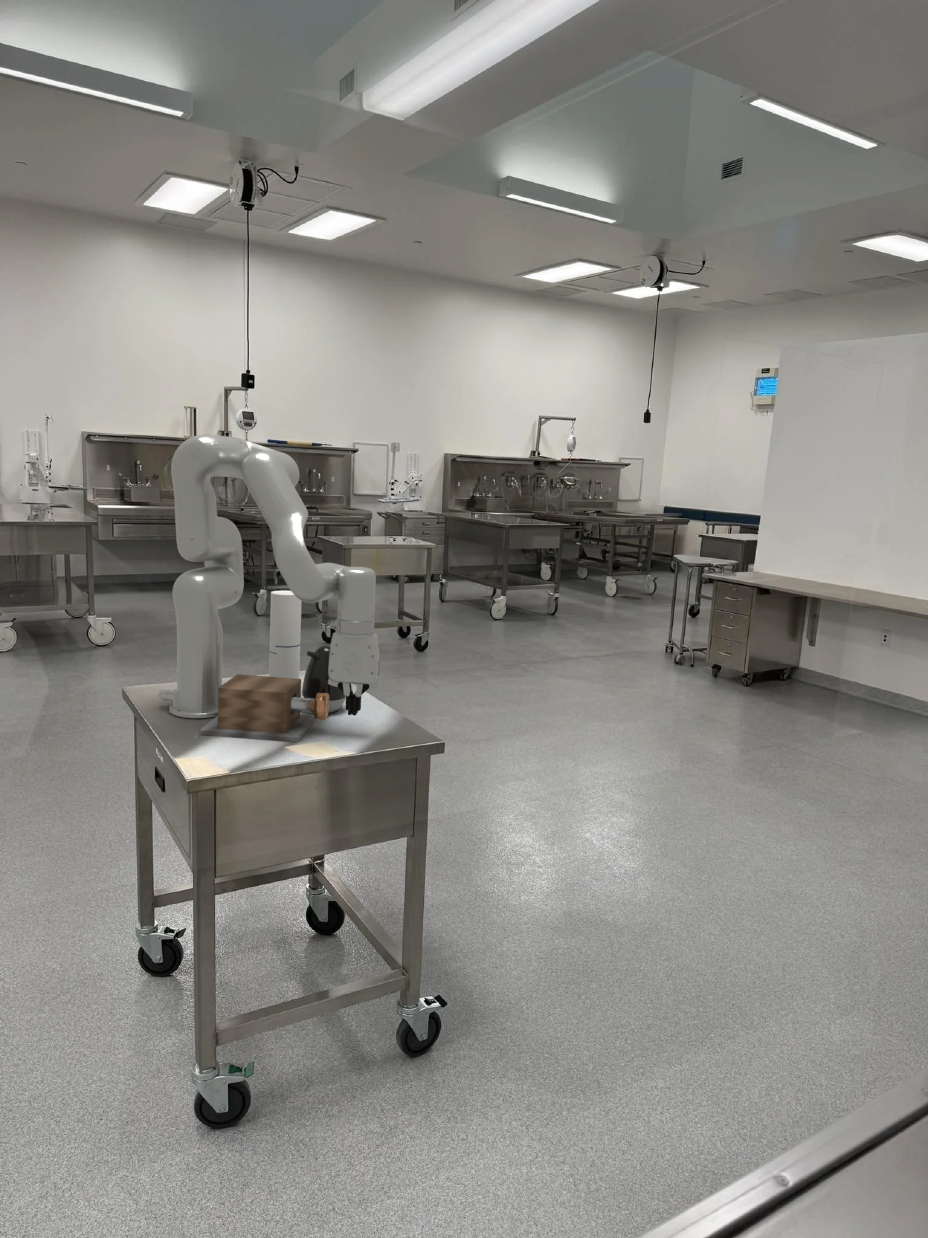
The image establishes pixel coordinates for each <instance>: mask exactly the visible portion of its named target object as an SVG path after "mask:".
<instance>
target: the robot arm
mask: <svg viewBox="0 0 928 1238" xmlns="http://www.w3.org/2000/svg"><path fill="white" fill-rule="evenodd" d="M171 459H172V460H171V465H170V467H171V469H170V473H171V482H172V487H173V488H172V489H173V495H174V496H173V497H174V499H173V500H174V520H175V534H176V536H175V537H176V538H175V539H176V545H177V546H176V547H177V551H178V553H179V555H180V557H182V558H183V559H184V560H186V561H189V562H192V563H202V562H204V567H200V568H199V567H198V568H193V569H190V570H187V571H185V572H183V573H181V574H180V575H179V576H178V577H177V578H176V580H175V582H174V584H173V587H172V601H173V606H174V612H175V619H176V620H175V622H176V689H174V690H171V689H160V690H159V693H158V696H159V699H160V700H161V701H170V702H171V704H170V705H169V708H168V709H169V713H170V714H171V715H173V716H176V717H180V718H186V719H209V718H215V717H217V716H218V688H219V687H220V686H222V685H223V656H224V655H223V648H224V647H223V646H224V645H223V644H224V643H223V641H224V638H223V637H224V635H223V625H222V622H221V619H220V616H219V612H218V611H219V610H220V609H225V608H228V607H231V606H233V605H235V604H236V603H238V602H239V600H240V599H241V597H242V594H243V592H244V586H245V582H244V581H245V580H244V577H245V576H244V556H243V555H244V554H243V542H242V536H241V533H240V531H239V529H238V527H237V526H236V524H235V523H234V522H233V521H231V520H230V519H228V518H226V517H223V516H222V517H221V516H218V510H217V509H218V508H217V496H216V492H215V489H214V487H213V485H212V482H211V478H212V477H222V478H226V477H227V478H236V479H240V480H243V482H244V484H245V486H246V487H247V489H248V491H249V493H250V495H251V497H252V498H253V500H254V503H256V506H257V507H258V509H259V511H260V513H261V514H262V517H263V518H264V521H265V522H266V525H268V527H269V530H270V532H271V533H270V534H271V547H272V552H273V558H274V561H275V564H276V566H277V568H278V571H279V572H280V574H281V576H282V578H283V580H284V582H285V583H286V585H287V587H288V588H289V591H292V593H293V594H294V595H295V596H296V597H297V598H298V599H299V600H301V601H302V602H303V603H307V604H315V603H319V602H322V601H326V600H331V599H332V600H333V599H337V618H336V619H334V620H333V619H330V623H329V625H330V628H335V629H336V631H335V632H333V633H332V636H331V641H330V646H331V647H330V655H329V666H328V677H329V680H328V684H329V685H332V686H335V687H338V688H339V689H340V690H341V691H342V692H343V693H344V695H345V696H346V697H345V706H344V708H345V711H347V716H357V714H358V713H359V712H360V711H362V710H361V708H362V695H364V693H365V692H367V691H368V690H373V689H378V688H379V687H380V685H381V683H380V678H379V677H380V670H381V669H380V649H379V639H378V635H377V633H375V615H376V614H375V611H376V609H375V608H376V604H375V603H376V584H377V583H376V581H377V579H376V577H377V575H376V572H375V570H373V568H369V567H367V566H366V567H365V566H346V565H342V564H339V563H335V562H322V563H315V560H313V558H312V556H311V553H309V550H308V549H307V546H306V543H305V539H304V528H305V525H306V522H307V520H308V518H309V511H308V509H307V506H306V505H305V504H304V502H303V500H302V498H301V497H300V495H299V493H298V491H297V489H296V487H297V485H298V483H299V480H300V470H299V466H298V464H297V463H296V461H295V459H294V458H293V457H291V456H290V455H289V454H287V453H285V452H283V451H282V452H281V451H278V450H276V449H272V448H270V447H267V446H264V445H261V444H257V443H255V442H251V441H249V440H246V439H243V438H239V437H238V438H237V437H232V436H223V435H219V434H218V435H217V434H199V435H195V436H194V435H193V436H191V437H190V438H187V439H186V440H184V441H183V442H182V443H181V444H180V445H178V447H177V449H176V450H175V452H174V454H173V456H172V458H171ZM352 684H356V686H355V687H356V688H355V692H354V691H353V685H352Z"/></svg>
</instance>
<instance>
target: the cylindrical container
mask: <svg viewBox="0 0 928 1238" xmlns="http://www.w3.org/2000/svg"><path fill="white" fill-rule="evenodd" d="M302 602H303V601H301V600H299V599H298V598H297V597H296V596H295V595H294V594H293V593H292V591H291V590H273V591H271V592H270V613H269V615H270V616H269V617H270V618H269V619H270V620H269V621H270V623H269V624H270V625H269V661H268V663H269V664H268V667H269V668H268V677H282V678H296V679H300V666H301V664H300V663H301V662H300V661H301V636H302V635H301V632H302V629H301V627H302V625H301V624H302Z"/></svg>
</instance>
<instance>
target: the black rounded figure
mask: <svg viewBox="0 0 928 1238" xmlns="http://www.w3.org/2000/svg"><path fill="white" fill-rule="evenodd" d="M330 647H331V644H330V645H329V644H324V645H319V646H318V647H317V648H316V649H315V651H312V650H307V652H306V655H307V656H308V657H310V659H309V661H308V664H307V667H306V669H305V674H304V678H303V682H302V686H301V697H302V696H303V697H302V698H314V699H315V698H316V695H317V693H328V694H329V700H330V702H329V712H328V714H330V713H333V712H336V711H338V710H340V709H341V708H342V706H344V705H343V704H344V703H345V702H346V696H345V695H344V693H343V692H342V691H341V690H340V689H339V688H338V687H335V686H332V685H329V684H328V680H329V677H328V666H329V655H330Z"/></svg>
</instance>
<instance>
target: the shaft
mask: <svg viewBox="0 0 928 1238" xmlns="http://www.w3.org/2000/svg"><path fill="white" fill-rule="evenodd" d="M329 702H330V700H329V694H328V693H317V695H316V698H315V699H314V698H304V697H302V696H301V697H291V711H295V712H300V713H309V714H310V713H312V714H313V715H314V717H315V719H316V720H319V721H326V720H327V719H328V716H329V713H328V712H329Z"/></svg>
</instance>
